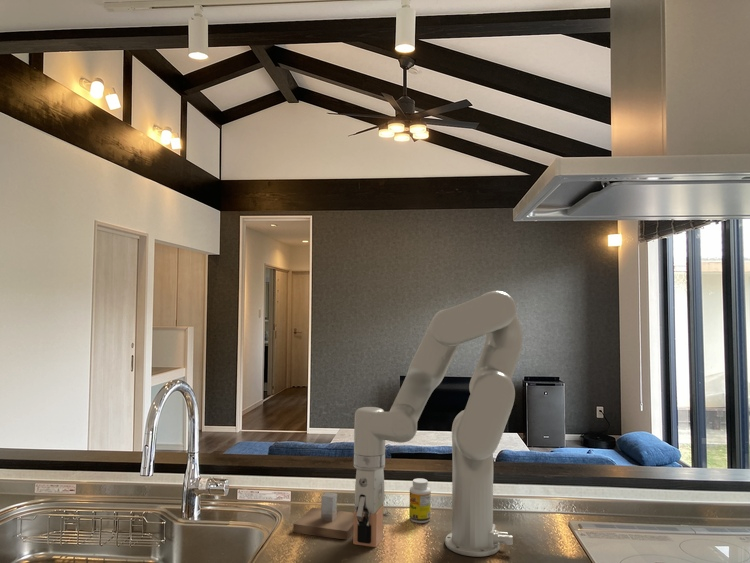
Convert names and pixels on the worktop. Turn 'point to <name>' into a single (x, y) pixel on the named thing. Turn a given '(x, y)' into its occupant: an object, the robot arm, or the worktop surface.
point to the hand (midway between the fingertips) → (368, 536)
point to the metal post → (329, 506)
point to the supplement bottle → (420, 501)
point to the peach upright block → (376, 528)
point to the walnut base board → (325, 524)
